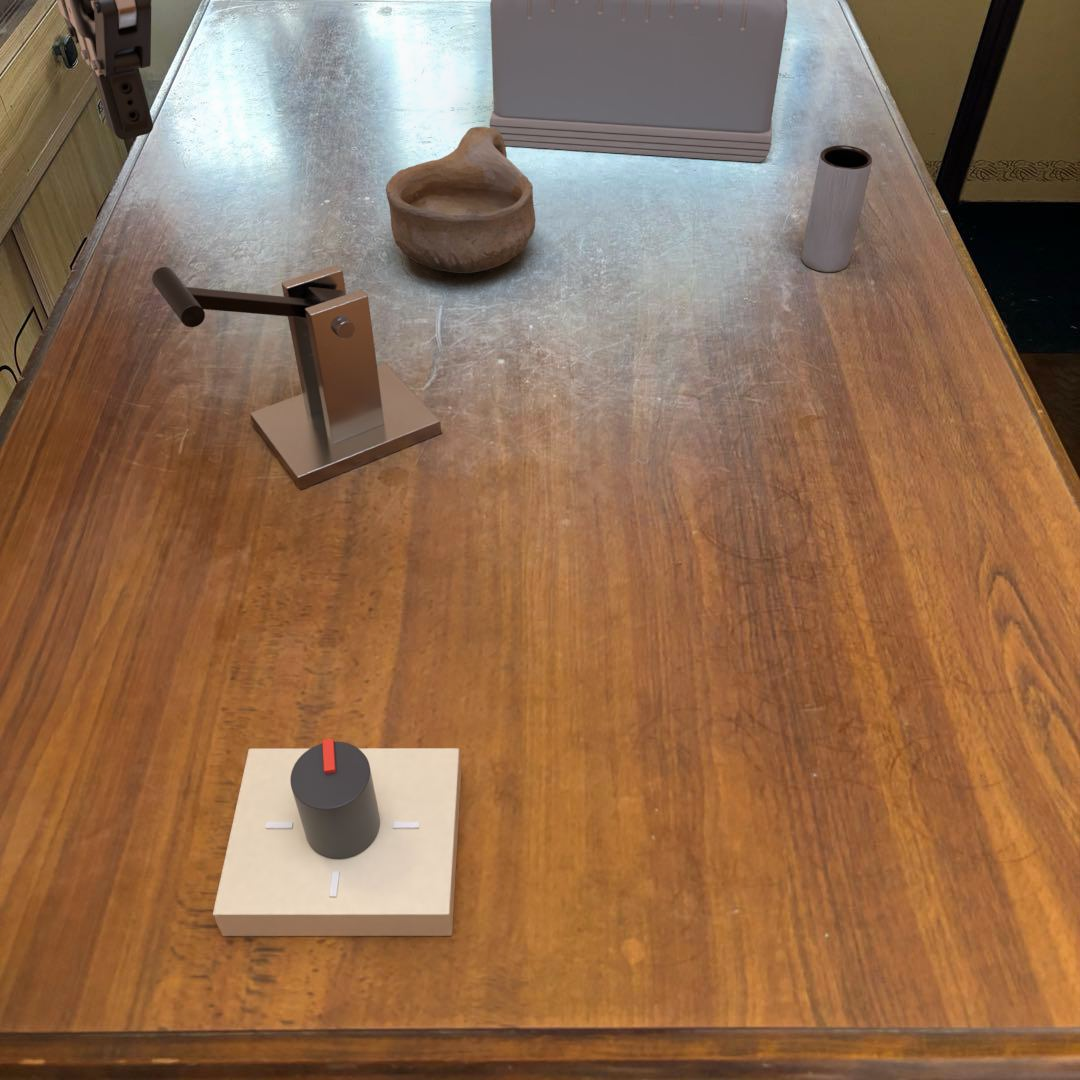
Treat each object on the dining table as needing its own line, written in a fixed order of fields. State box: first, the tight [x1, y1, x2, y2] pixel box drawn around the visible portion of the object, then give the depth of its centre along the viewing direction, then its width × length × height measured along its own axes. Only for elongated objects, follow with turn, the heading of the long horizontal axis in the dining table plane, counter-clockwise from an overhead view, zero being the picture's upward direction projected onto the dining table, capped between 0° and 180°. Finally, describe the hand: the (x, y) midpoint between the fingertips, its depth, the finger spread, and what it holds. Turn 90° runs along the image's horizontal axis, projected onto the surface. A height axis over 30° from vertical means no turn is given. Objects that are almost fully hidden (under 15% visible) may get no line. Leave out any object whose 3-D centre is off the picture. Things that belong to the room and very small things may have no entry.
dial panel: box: [212, 747, 462, 937], centre depth 60 cm, size 12×10×3 cm
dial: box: [290, 738, 380, 859], centre depth 57 cm, size 4×4×5 cm
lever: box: [151, 266, 347, 328], centre depth 75 cm, size 13×6×2 cm, turn 123°
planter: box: [800, 144, 873, 273], centre depth 101 cm, size 4×4×10 cm
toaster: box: [489, 0, 788, 163], centre depth 126 cm, size 30×36×18 cm
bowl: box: [385, 126, 536, 274], centre depth 103 cm, size 18×14×10 cm
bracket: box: [249, 264, 442, 491], centre depth 82 cm, size 12×9×13 cm
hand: (132, 131), depth 64 cm, fingers closed
